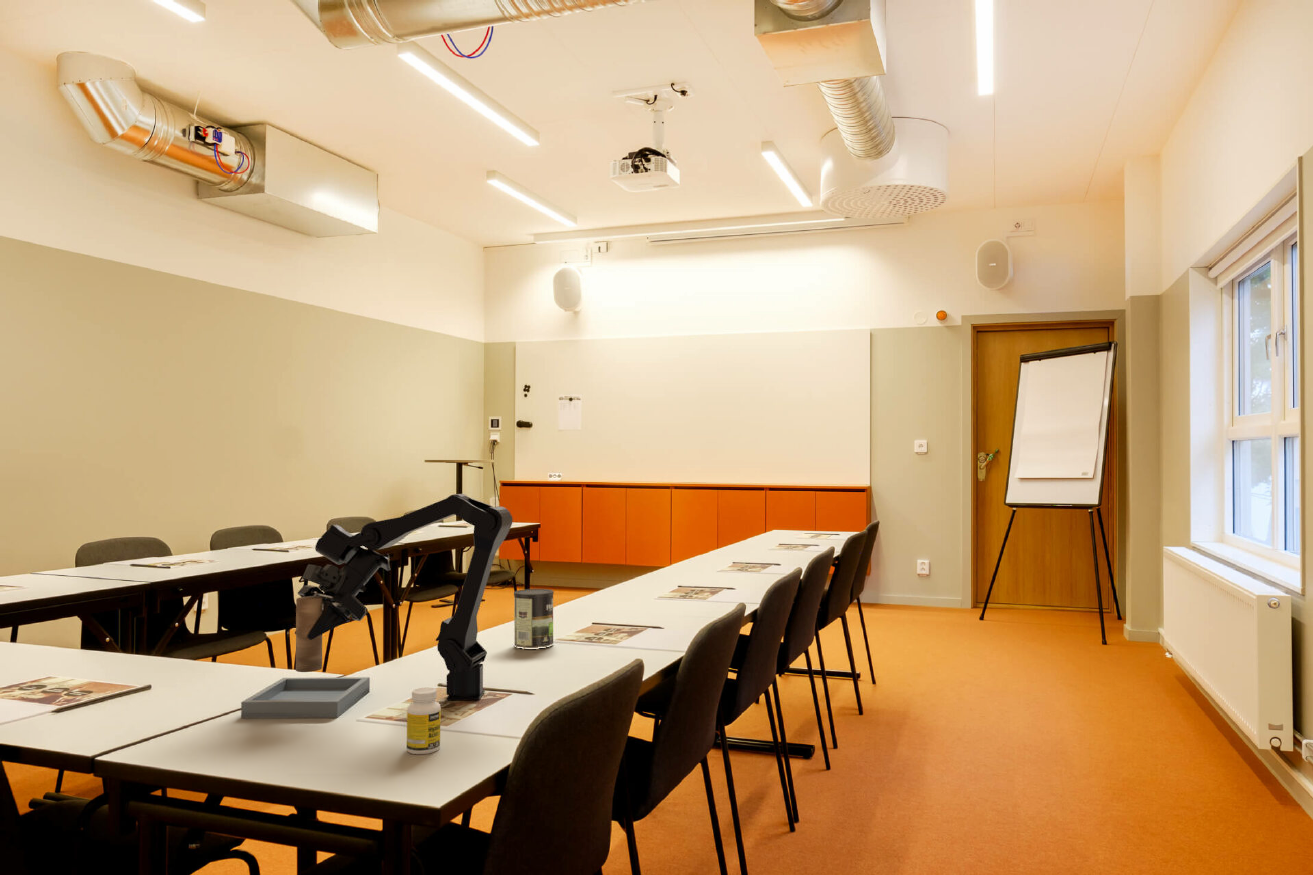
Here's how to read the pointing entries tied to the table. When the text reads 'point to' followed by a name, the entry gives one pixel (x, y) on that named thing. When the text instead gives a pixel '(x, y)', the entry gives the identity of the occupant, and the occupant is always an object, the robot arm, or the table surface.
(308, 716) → the bin
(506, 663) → the table surface
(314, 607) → the canister
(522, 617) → the coffee can
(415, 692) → the supplement bottle
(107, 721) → the table surface
